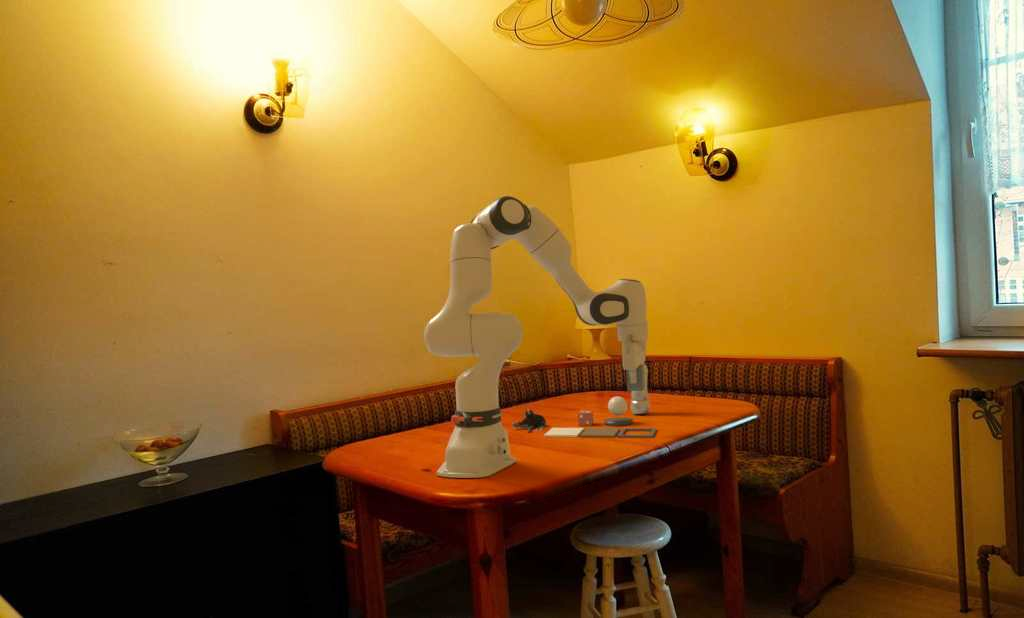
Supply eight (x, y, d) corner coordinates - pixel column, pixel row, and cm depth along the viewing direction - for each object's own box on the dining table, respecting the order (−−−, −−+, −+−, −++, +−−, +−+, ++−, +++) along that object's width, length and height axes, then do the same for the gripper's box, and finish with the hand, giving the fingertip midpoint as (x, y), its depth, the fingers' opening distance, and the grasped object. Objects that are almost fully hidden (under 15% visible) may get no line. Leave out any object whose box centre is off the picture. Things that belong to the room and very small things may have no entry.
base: (630, 426, 221) (630, 423, 221) (601, 426, 223) (601, 422, 223) (634, 420, 229) (634, 417, 229) (607, 420, 232) (606, 417, 232)
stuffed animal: (533, 418, 238) (547, 401, 229) (543, 445, 233) (557, 429, 224) (502, 423, 233) (514, 406, 224) (510, 451, 228) (524, 434, 219)
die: (591, 425, 225) (590, 412, 225) (578, 425, 226) (577, 412, 226) (593, 423, 229) (592, 410, 229) (581, 423, 230) (580, 410, 230)
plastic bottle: (629, 416, 237) (626, 356, 236) (632, 412, 243) (629, 353, 243) (649, 416, 235) (646, 355, 234) (651, 412, 241) (648, 353, 241)
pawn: (642, 390, 206) (640, 355, 205) (627, 390, 207) (625, 356, 207) (644, 388, 210) (642, 354, 210) (629, 388, 211) (627, 354, 211)
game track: (652, 437, 203) (652, 435, 203) (544, 436, 213) (544, 434, 213) (656, 430, 213) (656, 428, 213) (552, 429, 223) (552, 427, 223)
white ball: (626, 417, 222) (625, 398, 222) (607, 417, 224) (605, 398, 224) (629, 413, 228) (627, 394, 228) (610, 413, 230) (609, 395, 230)
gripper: (638, 336, 197) (641, 386, 198) (648, 331, 217) (650, 376, 217) (615, 337, 199) (618, 387, 200) (627, 332, 219) (630, 377, 219)
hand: (635, 381), depth 208 cm, fingers closed on pawn, 4 cm apart
